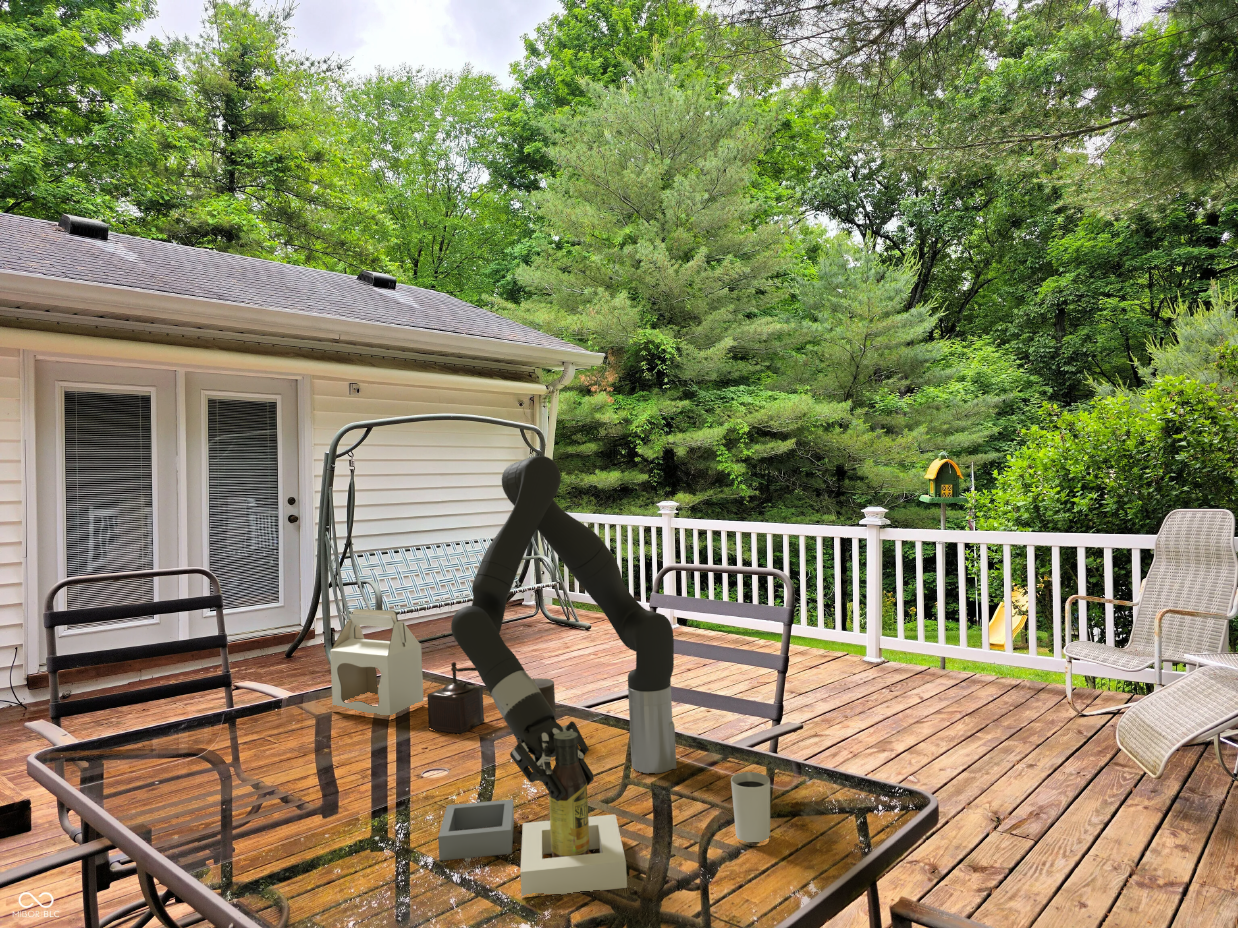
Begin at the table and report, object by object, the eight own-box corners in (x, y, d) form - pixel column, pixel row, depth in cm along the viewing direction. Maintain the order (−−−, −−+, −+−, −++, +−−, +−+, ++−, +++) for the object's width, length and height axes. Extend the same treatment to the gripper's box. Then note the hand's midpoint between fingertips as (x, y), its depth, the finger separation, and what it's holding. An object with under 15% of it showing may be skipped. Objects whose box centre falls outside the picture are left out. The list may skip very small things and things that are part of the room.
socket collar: (616, 837, 131) (615, 814, 131) (627, 887, 115) (625, 861, 115) (523, 846, 129) (522, 822, 129) (521, 898, 113) (520, 871, 113)
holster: (514, 820, 139) (513, 799, 139) (511, 853, 127) (510, 829, 127) (448, 827, 137) (447, 805, 137) (439, 860, 125) (438, 836, 125)
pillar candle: (540, 749, 174) (537, 685, 174) (508, 743, 179) (505, 680, 179) (565, 736, 182) (562, 674, 182) (533, 730, 187) (530, 670, 188)
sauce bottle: (584, 869, 118) (578, 743, 118) (546, 866, 119) (540, 742, 119) (594, 848, 124) (588, 728, 124) (558, 845, 126) (552, 727, 126)
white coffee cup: (749, 852, 123) (746, 791, 124) (725, 835, 129) (722, 777, 130) (781, 841, 127) (778, 781, 127) (756, 825, 132) (753, 768, 133)
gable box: (331, 712, 211) (327, 612, 211) (367, 698, 222) (363, 604, 223) (391, 721, 200) (386, 616, 201) (424, 706, 212) (420, 607, 213)
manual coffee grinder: (462, 735, 186) (459, 663, 186) (427, 730, 191) (424, 660, 191) (498, 716, 200) (495, 648, 200) (465, 712, 205) (462, 646, 205)
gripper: (500, 702, 121) (556, 793, 114) (561, 680, 132) (616, 762, 125) (480, 729, 125) (533, 819, 117) (541, 706, 136) (593, 787, 128)
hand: (576, 789), depth 121 cm, fingers closed on sauce bottle, 6 cm apart
